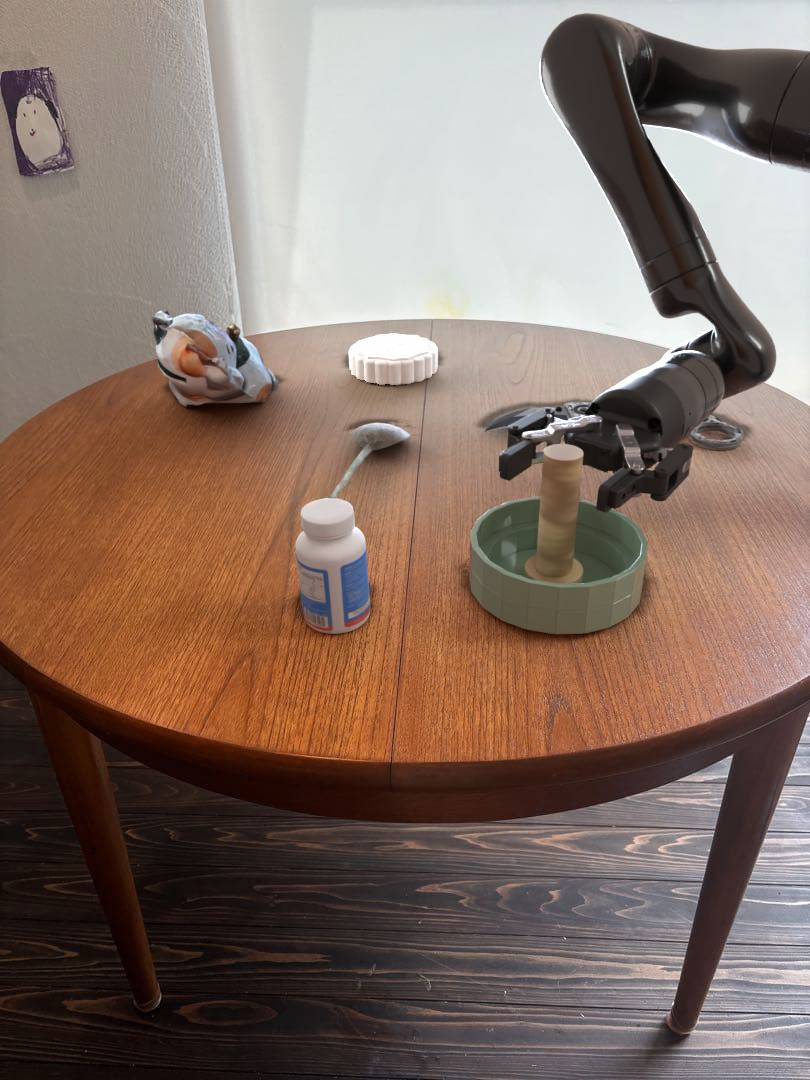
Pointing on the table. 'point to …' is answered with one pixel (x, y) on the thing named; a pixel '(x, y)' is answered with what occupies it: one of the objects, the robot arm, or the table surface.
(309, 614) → the pill bottle
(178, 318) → the lucky cat figurine
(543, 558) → the muddler
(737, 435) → the knife
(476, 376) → the table surface
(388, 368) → the mooncake
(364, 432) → the soupspoon
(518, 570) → the bowl
